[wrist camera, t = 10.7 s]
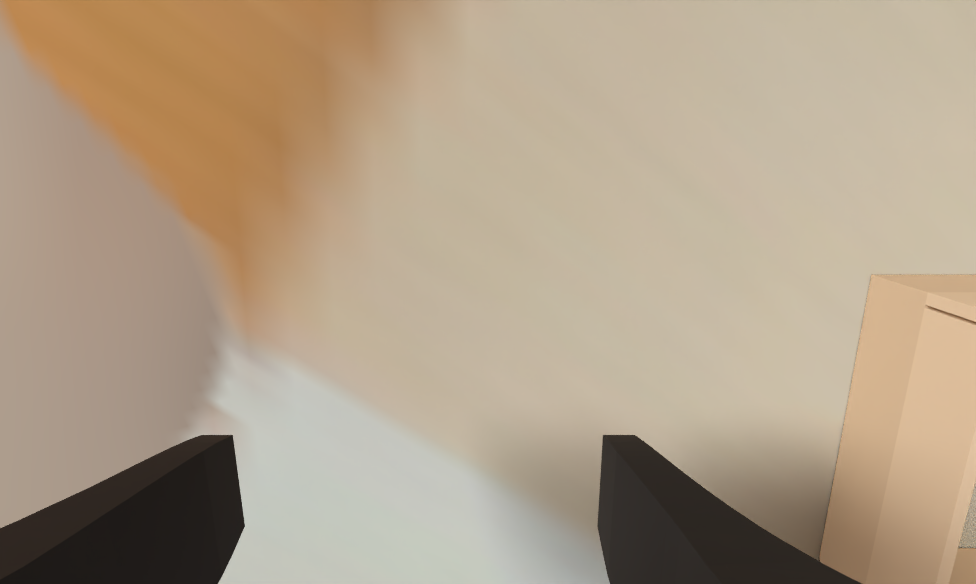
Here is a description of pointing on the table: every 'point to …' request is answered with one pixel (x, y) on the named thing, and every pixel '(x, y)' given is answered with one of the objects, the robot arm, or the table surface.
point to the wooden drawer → (908, 437)
